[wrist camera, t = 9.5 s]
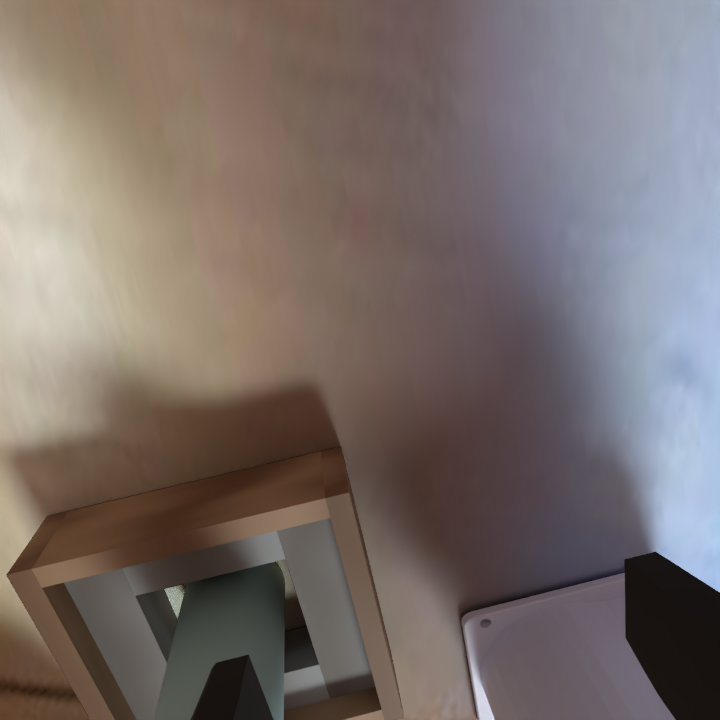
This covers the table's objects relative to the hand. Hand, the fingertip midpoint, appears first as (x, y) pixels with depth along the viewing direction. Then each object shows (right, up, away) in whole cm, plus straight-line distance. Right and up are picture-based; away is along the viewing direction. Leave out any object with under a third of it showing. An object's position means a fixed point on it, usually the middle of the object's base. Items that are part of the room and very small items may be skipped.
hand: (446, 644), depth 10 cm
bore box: (-7, -4, +12) cm, 14 cm away
